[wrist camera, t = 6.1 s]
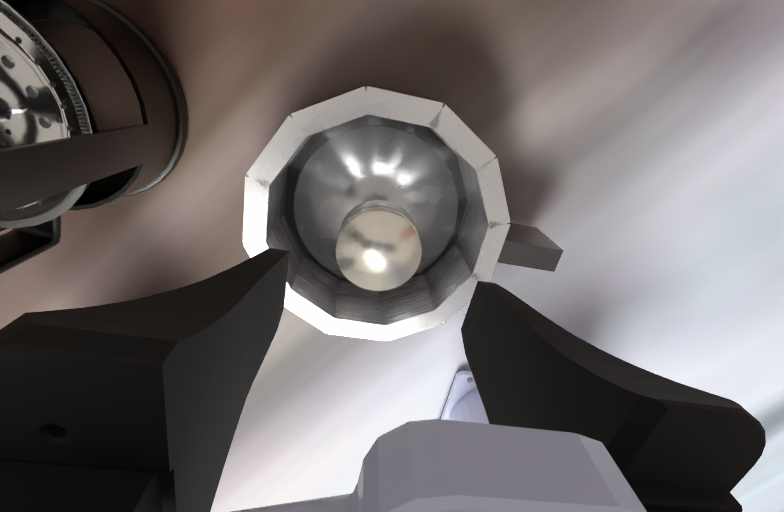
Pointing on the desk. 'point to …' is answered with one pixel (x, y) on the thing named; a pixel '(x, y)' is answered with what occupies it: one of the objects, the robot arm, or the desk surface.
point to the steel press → (432, 284)
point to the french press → (75, 124)
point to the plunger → (375, 205)
